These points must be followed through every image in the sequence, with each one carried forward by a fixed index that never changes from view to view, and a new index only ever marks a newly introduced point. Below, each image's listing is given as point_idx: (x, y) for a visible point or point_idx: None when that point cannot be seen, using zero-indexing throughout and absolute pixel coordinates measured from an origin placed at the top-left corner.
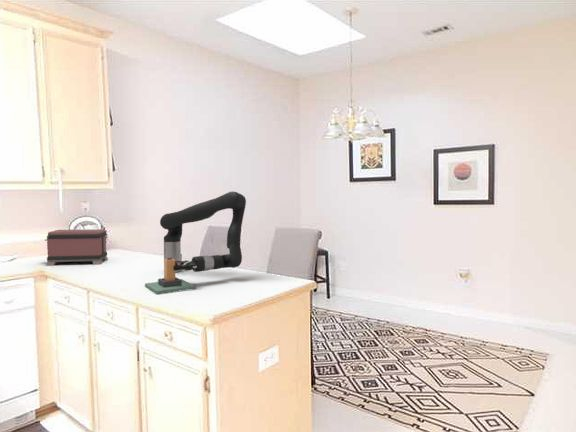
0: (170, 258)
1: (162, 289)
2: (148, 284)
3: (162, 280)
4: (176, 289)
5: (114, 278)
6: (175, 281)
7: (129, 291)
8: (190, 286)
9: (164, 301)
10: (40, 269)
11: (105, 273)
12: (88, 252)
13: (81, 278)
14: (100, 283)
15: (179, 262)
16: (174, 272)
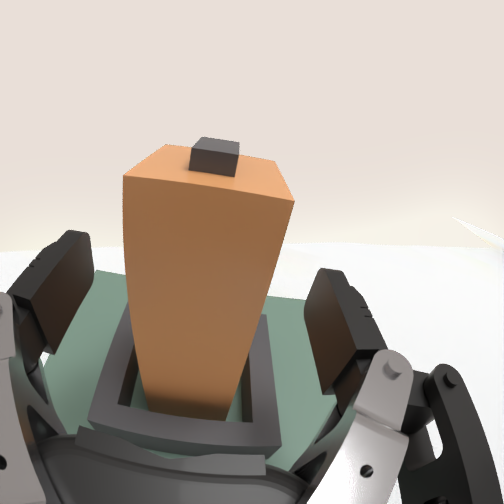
0: (194, 145)
1: (99, 297)
2: (276, 303)
3: None
4: (52, 358)
5: (451, 285)
6: (104, 371)
7: None
8: None
9: (4, 256)
10: (484, 241)
11: (492, 287)
12: None
13: (441, 247)
14: (392, 249)
15: (346, 417)
16: (136, 337)
